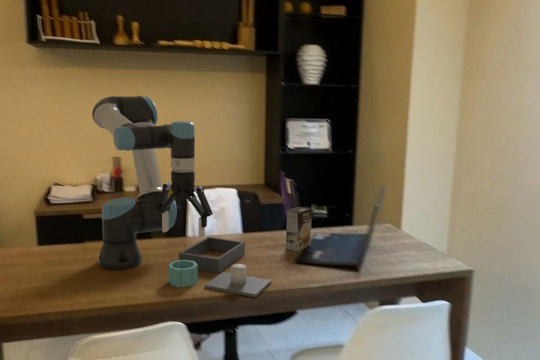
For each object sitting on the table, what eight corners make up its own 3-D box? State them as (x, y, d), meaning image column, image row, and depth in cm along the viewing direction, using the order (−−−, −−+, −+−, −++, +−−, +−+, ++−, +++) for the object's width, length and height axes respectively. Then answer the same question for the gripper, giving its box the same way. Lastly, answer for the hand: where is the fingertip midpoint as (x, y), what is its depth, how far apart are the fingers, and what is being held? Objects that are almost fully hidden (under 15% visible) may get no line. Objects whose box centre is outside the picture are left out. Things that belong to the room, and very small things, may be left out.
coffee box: (298, 252, 210) (300, 212, 207) (285, 248, 214) (286, 210, 211) (310, 246, 217) (312, 208, 214) (297, 243, 221) (298, 206, 218)
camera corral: (179, 266, 192) (178, 253, 191) (208, 248, 212) (208, 236, 211) (218, 273, 186) (218, 259, 185) (244, 254, 206) (244, 242, 205)
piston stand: (204, 287, 173) (204, 268, 172) (223, 274, 185) (223, 256, 183) (255, 297, 166) (256, 277, 165) (271, 283, 178) (271, 264, 177)
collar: (164, 284, 175) (163, 266, 174) (178, 275, 183) (178, 258, 182) (188, 288, 172) (187, 271, 170) (201, 279, 180) (201, 262, 179)
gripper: (143, 168, 171) (144, 232, 175) (212, 175, 162) (211, 242, 166) (156, 165, 178) (157, 226, 182) (223, 171, 169) (222, 235, 173)
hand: (183, 234), depth 174 cm, fingers open, 13 cm apart
